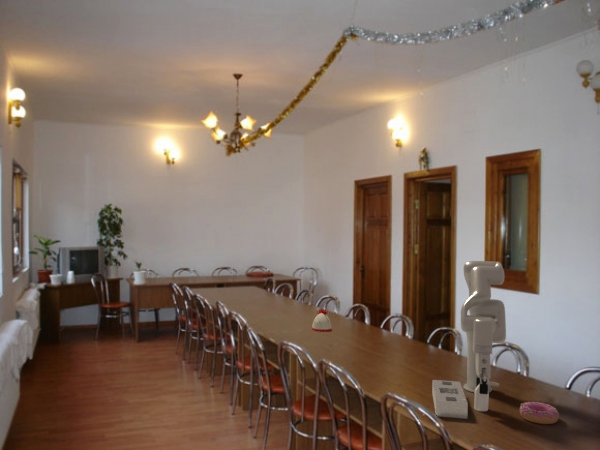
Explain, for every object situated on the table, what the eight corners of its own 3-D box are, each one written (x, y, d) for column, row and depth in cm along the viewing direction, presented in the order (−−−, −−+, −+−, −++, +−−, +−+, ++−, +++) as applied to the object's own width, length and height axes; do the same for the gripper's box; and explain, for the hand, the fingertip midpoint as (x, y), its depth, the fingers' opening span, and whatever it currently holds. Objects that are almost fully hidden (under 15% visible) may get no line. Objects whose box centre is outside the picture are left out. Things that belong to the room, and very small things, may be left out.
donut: (547, 412, 223) (548, 400, 223) (565, 425, 209) (566, 412, 209) (513, 412, 222) (513, 400, 222) (529, 425, 208) (529, 412, 208)
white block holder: (459, 395, 243) (460, 381, 243) (467, 418, 214) (467, 403, 214) (432, 393, 246) (432, 379, 246) (436, 416, 216) (436, 400, 216)
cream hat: (325, 332, 377) (325, 311, 377) (308, 330, 384) (308, 309, 384) (335, 329, 389) (335, 308, 389) (318, 327, 396) (318, 306, 396)
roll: (478, 377, 229) (491, 380, 226) (477, 405, 230) (490, 409, 226) (472, 380, 225) (485, 383, 221) (471, 409, 225) (484, 412, 221)
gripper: (495, 353, 216) (494, 397, 215) (488, 345, 233) (488, 385, 232) (475, 352, 217) (475, 395, 217) (470, 344, 234) (469, 384, 234)
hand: (481, 390), depth 225 cm, fingers open, 9 cm apart
